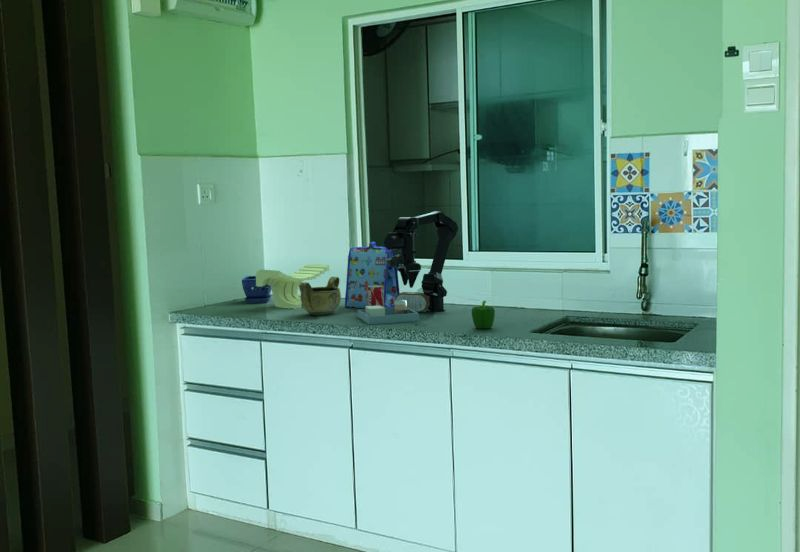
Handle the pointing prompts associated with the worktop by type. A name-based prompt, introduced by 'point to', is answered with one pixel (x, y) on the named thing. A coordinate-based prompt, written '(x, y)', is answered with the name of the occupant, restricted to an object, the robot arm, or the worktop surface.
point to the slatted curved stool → (288, 283)
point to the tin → (415, 300)
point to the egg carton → (374, 310)
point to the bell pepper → (483, 316)
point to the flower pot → (255, 291)
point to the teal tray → (388, 316)
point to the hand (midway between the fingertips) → (408, 286)
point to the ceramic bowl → (321, 297)
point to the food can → (400, 307)
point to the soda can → (375, 295)
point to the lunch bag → (370, 275)
